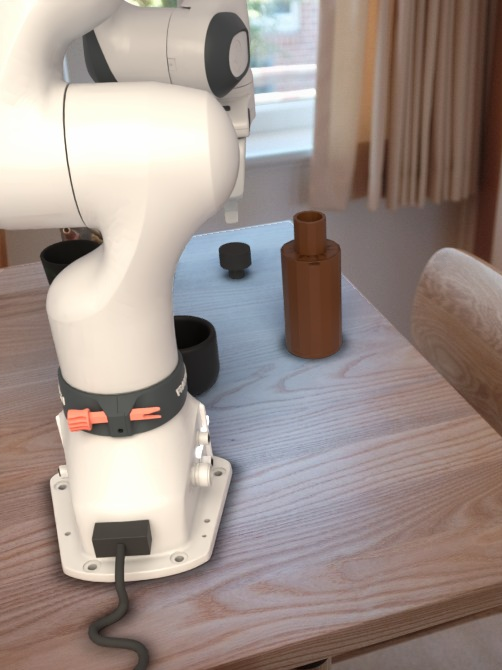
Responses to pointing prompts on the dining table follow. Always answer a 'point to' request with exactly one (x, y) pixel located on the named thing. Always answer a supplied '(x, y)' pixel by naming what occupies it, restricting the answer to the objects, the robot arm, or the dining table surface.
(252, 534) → the dining table surface
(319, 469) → the dining table surface
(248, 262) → the cylinder
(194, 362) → the mug
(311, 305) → the bottle
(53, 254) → the cup
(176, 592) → the dining table surface
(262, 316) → the dining table surface
